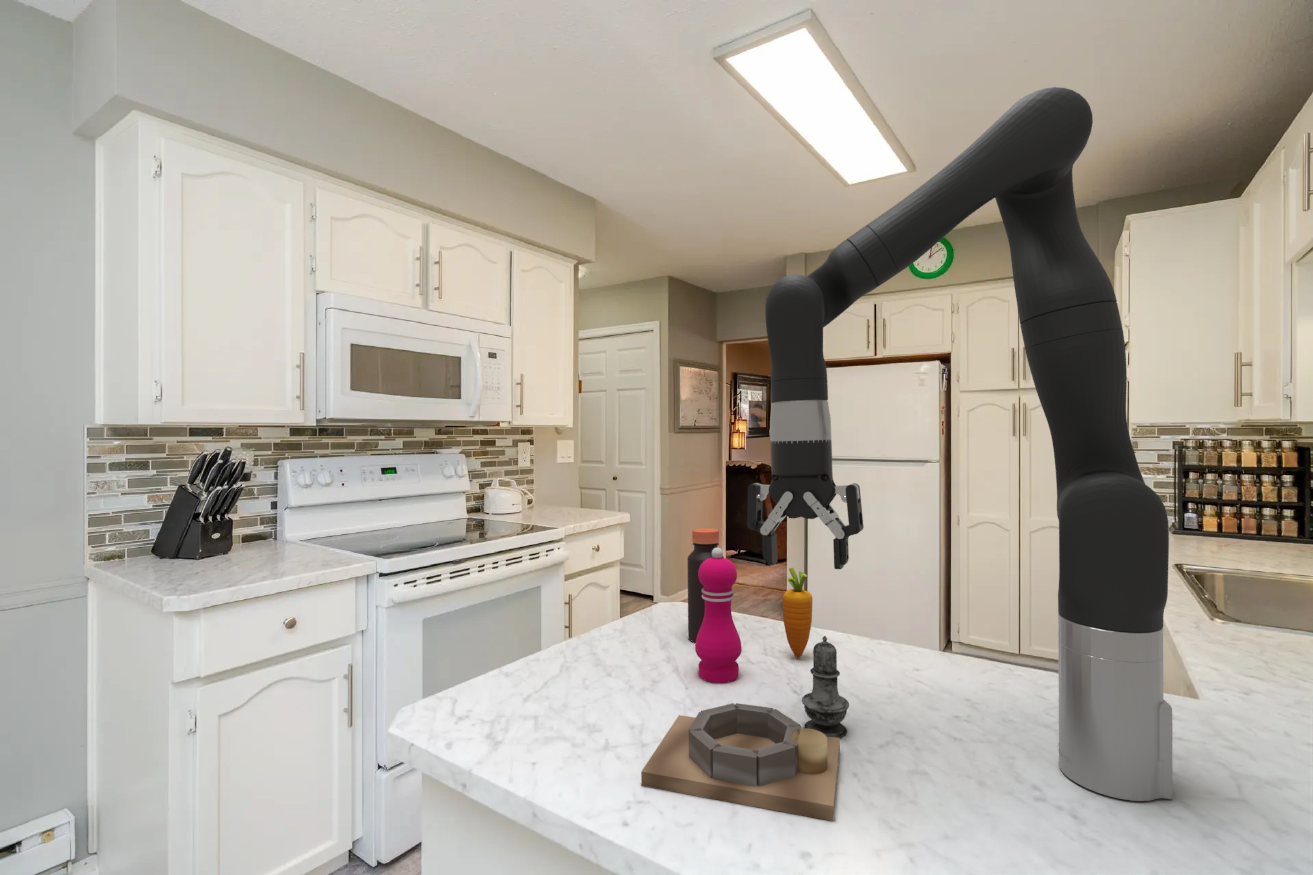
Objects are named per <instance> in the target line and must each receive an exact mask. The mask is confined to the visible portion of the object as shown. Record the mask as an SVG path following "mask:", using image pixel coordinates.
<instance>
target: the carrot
mask: <svg viewBox="0 0 1313 875" xmlns="http://www.w3.org/2000/svg"><path fill="white" fill-rule="evenodd" d="M788 571H789V573H790V575H791V576H788V577H787V582H788V583H789V584H790V586H791V587H792V588H793V589H787V590H786V591H785V593H784V594H783V596H782V615H783V616H782V618H783V625H784V631H785V632H784V633H785V635H786V639H787V643H788V645H789V648H790V650H791V652H792V654H793V656H794V657H795V658H796V659H798V660H799V659H800V658H801V657H802V655H803V654H804V651H805V649H806V648H807V645H808V642H809V639H810V635H811V630H812V629H811V628H812V621H813V596H812V594H811V592H809V591H807V590H805V589H803V587H804V585H805V581H806V579H807V577H808V575H807V574H806V573H804V572H803V571H799V572H798V574H797V572H796V571H795V568H794V567H789V568H788ZM798 575H799V577H798Z"/></svg>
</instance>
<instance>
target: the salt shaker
mask: <svg viewBox="0 0 1313 875" xmlns="http://www.w3.org/2000/svg"><path fill="white" fill-rule="evenodd" d="M821 640H822V641H821V642H818V643H815V645H814V646H813V652H812V657H813V662H812V664H813V666H812V668H810V674H811V675H812V690H811V692H808V693H806V694H804V695H803V696H802V697H801V703H802V705H803V708H804V711H805V714H806V715H807V717H808V718H809V720H808V721H806V722H805V723H804V725H803V728H807V729H814V730H817V731H820V732H822V733H823V734H825V735H826V736H827V737H834V738H840V739H843V738H844V737H846V736H847V734H848V729H847V727H846V726H845V725H844V724H842V722H843V721H844V720H845V718H846V716H847V711H848V709H849V708H850V702H849V700H847V698H845V697H843V695H840V694H839V690H838V677H839V676H840V675H841V671H840V670H838V668H837V667H838V664H837V662H838V660H837V659H838V658H837V657H838V656H837V653H838V652H837V648H836V647H835V645H833V644H832V643H831V642H828V641H827V640H828V637H827V636H826V635H823V636H822V637H821Z"/></svg>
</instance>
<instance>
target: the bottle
mask: <svg viewBox="0 0 1313 875" xmlns="http://www.w3.org/2000/svg"><path fill="white" fill-rule="evenodd" d="M691 534H692V537H691V538H692V539H691V540H692V545H693V550H692V551H691V552H690V554H689V555H688V556H687V627H688V628H687V630H688V631H687V633H688V634H687V637H688V639H689V641H691V642H693V643H696V638H697V634H698V632H699V630H700V627H701V625H702V622H703V619H704V614H705V600H704V599H703V598H702V593H703V592H702V589H703V588H704V586H703V585H702V584H701V582H700V581H699V577H698V572H699V568H700V565H701V564H702V563H703V562H704V561H705V560H707V559H709V558H712V557H713V556H712V550H713V549H714V548H718V546H719V545H720V544H719V542H720V530H719V529H718V528H717V529H716V528H712V527H711V528H710V527H709V528H708V527H704V528H703V527H702V528H700V527H699V528H694V529H692V533H691ZM722 558H725V557H724V555H723V556H722Z"/></svg>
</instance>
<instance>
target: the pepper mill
mask: <svg viewBox="0 0 1313 875" xmlns="http://www.w3.org/2000/svg"><path fill="white" fill-rule="evenodd" d="M712 556H713V557H712V558H709V559H707V560H705V561H704V562H703V563H702V564H701V565H700V568H699V572H698V577H699V581H700V582H701V584H702V585H703V586H704V588H703V589H702V592H703V593H702V598H703V599H704V600H705V614H704V619H703V622H702V625H701V627H700V630H699V632H698V634H697V638H696V643H695V642H694V643H695V645H694V648H695V649H694V650H695V654H696V656H697V657H698V658H699V659H700V661H699V663H698V677H699V678H700V679H702V680H703V681H706V682H708V683H713V684H725V683H731V682H734V681H736V680H737V679H738V678H739V674H740V673H739V671H740V670H739V668H740V666H739V663H738V662H737V660H738V659H739V657H740V656H741V654H742V649H743V648H742V641H741V638H740V634H739V631H738V630H737V627H736V624H735V622H734V619H733V616H732V615H733V614H732V608H731V607H732V600H733V599H734V598H735V596H734V592H735V590H734V589H733V586H734V585H735V583H736V582H737V579H738V574H737V573H738V572H737V567H736V566H735V564H734V563H733V562H732V561H731V560H730V559H729V558H725V557H724V551H723V550H722V548H720V547H717V548H714V549H713V550H712ZM722 556H723V557H724V558H722Z"/></svg>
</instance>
